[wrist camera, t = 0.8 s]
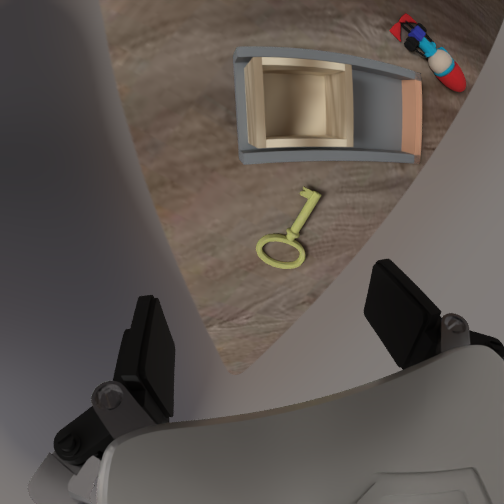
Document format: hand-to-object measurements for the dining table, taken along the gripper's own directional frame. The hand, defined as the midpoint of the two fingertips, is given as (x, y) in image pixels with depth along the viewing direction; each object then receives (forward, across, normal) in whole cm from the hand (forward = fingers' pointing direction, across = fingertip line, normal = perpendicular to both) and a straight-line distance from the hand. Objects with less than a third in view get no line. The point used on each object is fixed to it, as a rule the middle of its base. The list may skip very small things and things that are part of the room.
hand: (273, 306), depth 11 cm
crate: (+23, -8, -8) cm, 26 cm away
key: (+25, -8, +8) cm, 27 cm away
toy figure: (+25, -32, -19) cm, 45 cm away
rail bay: (+24, -14, -8) cm, 29 cm away
